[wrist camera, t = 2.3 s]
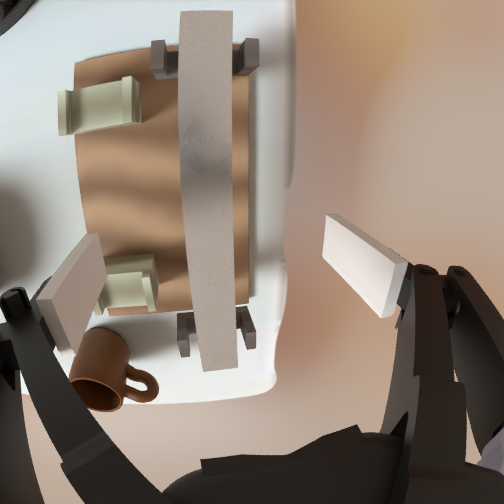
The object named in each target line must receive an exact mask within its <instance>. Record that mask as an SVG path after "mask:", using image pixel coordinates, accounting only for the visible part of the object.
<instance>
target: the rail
mask: <svg viewBox="0 0 504 504" xmlns="http://www.w3.org/2000/svg"><path fill="white" fill-rule="evenodd" d="M232 27H233V11H181V14H180V31H179V56H178V132H179V160H180V179H181V195H182V209H183V221H184V233H185V243H186V253H187V262H188V271H189V280H190V288H191V296H192V303H193V311H194V318H195V325H196V331H197V338H198V344H199V350H200V356H201V362H202V368H203V372H206V371H214V370H223V369H230V368H237V367H238V358H237V334H236V308H235V278H234V241H233V191H232Z"/></svg>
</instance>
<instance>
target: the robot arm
mask: <svg viewBox="0 0 504 504" xmlns="http://www.w3.org/2000/svg"><path fill="white" fill-rule="evenodd" d="M33 2H34V0H0V35H2V34H3V33H4V32H6V31H7V30H8V29H9V28H10V27H11V26H12V25H13V24H14V23H15V22H16V21H17V20H18V19H19V18H20V17H21V16H22V15H23V14H24V13H25V12H26V11H27V9H28V8H29V7H30V6H31V4H32V3H33ZM322 257H323V258H324V259H325V260H326V261H327V262H328V263H329V264H330V265H331V266H332V267H333V268H334V269H335V270H336V271H337V272H338V273H339V274H340V275H341V277H343V279H344V280H345V281H346V282H347V283H348V284H349V285H350V286H351V287H352V288H353V289H354V290H355V291H356V292H357V293H358V294H359V295H360V296H361V297H362V298H363V300H364V301H366V303H367V304H368V305H369V306H370V307H371V308H372V309H373V310H374V311H375V312H376V314H377V315H378V316H379V317H380V318H384V317H387V316H391V315H393V314H394V311H395V308H396V304H398V305H399V306H400V307H401V311H400V314H399V318H398V320H397V323H396V326H395V328H396V329H397V327H398V334H397V343H396V352H395V359H394V367H393V373H392V380H391V385H390V390H389V396H388V401H387V406H386V410H385V415H384V420H383V424H382V428H381V430H380V433H374V432H369V433H361V431H360V429H359V427H358V425H354V426H351V427H348V428H345V429H342V430H340V431H336V432H333V433H331V434H327V435H324V436H322V437H320V438H318V439H317V440H315V441H313V442H312V443H309V444H308V445H306V446H304V447H302V448H300V449H298V450H296V451H294V452H292V453H290V454H288V455H243V454H242V455H236V456H227V457H219V458H211V459H200V461H201V467H202V469H199V470H196V471H193V472H191V473H189V474H186V475H184V476H182V477H181V478H179V479H177V480H176V481H175V482H173V483H172V484H170V485H169V487H167V488H166V489H165V490H164V491H163V492H162V493H161V492H160V491H159V490H158V489H157V488H156V487H155V486H154V485H153V484H151V483H150V482H149V481H148V480H147V479H146V478H145V477H144V476H143V475H142V474H141V473H140V471H139V470H137V468H136V467H135V466H134V465H133V464H132V463H131V462H130V461H129V460H128V459H127V458H126V456H125V455H124V454H123V453H122V452H121V451H120V450H119V448H118V447H117V446H116V445H115V444H114V442H112V440H111V439H110V438H109V436H108V435H107V434H106V433H105V431H104V430H103V429H102V428H101V426H100V425H99V424H98V422H97V421H96V420H95V418H94V417H93V416H92V414H91V413H90V411H89V410H88V408H87V407H86V405H85V404H84V403H83V401H82V400H81V398H80V397H79V395H78V394H77V392H76V390H75V389H74V387H73V386H72V384H71V382H70V381H69V379H68V378H67V376H66V374H65V373H64V371H63V369H62V367H61V366H60V364H59V362H58V360H57V358H56V357H55V355H54V353H53V350H54V348H55V346H56V347H57V349H58V351H59V352H60V354H61V356H76V355H77V352H78V349H79V346H80V344H81V341H82V338H83V335H84V333H85V330H86V327H87V325H88V322H89V320H90V317H91V315H92V312H93V310H94V307H95V305H96V302H97V300H98V298H99V295H100V293H101V291H102V289H103V286H104V284H105V282H106V280H107V277H108V276H107V272H106V268H105V263H104V259H103V254H102V250H101V245H100V240H99V235H98V233H91V234H86V235H85V236H84V237H83V238H82V239H81V241H80V242H79V243H78V244H77V245H76V247H75V248H74V249H73V250H72V252H71V253H70V254H69V255H68V257H67V258H66V259H65V260H64V262H63V263H62V264H61V265H60V267H59V268H58V269H57V271H56V272H55V273H54V275H53V276H51V277H49V278H48V279H47V280H45V281H44V282H43V284H42V285H41V286H40V289H38V290H37V292H36V294H35V295H34V296H33V297H32V299H31V300H30V301H29V299H28V296H27V293H26V291H25V289H24V288H23V287H15V288H12V289H9V290H8V291H6V292H5V293H3V294H2V295H1V296H0V308H1V310H2V312H3V314H4V317H5V319H6V321H7V322H5V323H1V324H0V504H45V503H44V500H43V497H42V494H41V491H40V488H39V485H38V482H37V478H36V474H35V471H34V467H33V463H32V458H31V454H30V449H29V445H28V439H27V434H26V428H25V422H24V414H23V406H22V395H21V382H20V370H21V373H22V376H23V378H24V381H25V384H26V386H27V389H28V392H29V394H30V396H31V399H32V401H33V404H34V406H35V408H36V410H37V413H38V415H39V417H40V419H41V421H42V423H43V425H44V427H45V429H46V431H47V433H48V435H49V437H50V439H51V441H52V443H53V444H54V446H55V448H56V450H57V452H58V453H59V455H60V457H61V459H62V460H63V463H61V468H62V470H63V472H64V474H65V476H66V477H67V478H68V480H69V482H70V483H71V485H72V486H73V488H74V489H75V491H76V492H77V493H78V495H79V496H80V498H81V499H82V500H83V502H84V503H85V504H504V319H503V318H502V316H501V315H500V313H499V312H498V310H497V309H496V307H495V306H494V304H493V303H492V302H491V300H490V299H489V297H488V296H487V295H486V293H485V292H484V291H483V289H482V288H481V287H480V285H479V284H478V283H477V281H476V280H475V279H474V277H473V276H472V275H471V274H470V273H469V272H468V271H467V270H466V269H464V268H463V267H460V266H450V267H449V268H448V271H447V275H439V273H438V272H437V270H436V269H434V268H432V267H430V266H428V265H422V264H417V265H415V266H414V265H412V264H411V263H410V262H408V261H407V260H405V259H404V258H403V257H401V256H400V255H398V254H397V253H395V252H394V251H393V250H391V249H390V248H388V247H386V246H385V245H383V244H382V243H380V242H379V241H377V240H376V239H375V238H373V237H372V236H370V235H369V234H367V233H366V232H364V231H363V230H361V229H359V228H358V227H356V226H355V225H354V224H352V223H350V222H349V221H347V220H345V219H344V218H343V217H341V216H339V215H338V214H331V215H326V224H325V234H324V244H323V254H322ZM458 310H459V311H458ZM454 370H455V373H456V376H457V378H458V382H455V381H454ZM466 409H467V412H468V417H469V421H470V424H471V429H472V432H473V436H474V439H475V443H476V445H477V448H478V451H479V453H480V455H481V457H482V459H481V460H480V461H479V462H478V463H477V465H475V464H471V463H468V462H465V456H466V434H467V433H466V432H467V415H466Z"/></svg>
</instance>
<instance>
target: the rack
mask: <svg viewBox="0 0 504 504" xmlns="http://www.w3.org/2000/svg"><path fill="white" fill-rule="evenodd" d="M178 56H179V46H168V47H166V44H165V40H156V41H152V42H151V48H149V49H141V50H134V51H128V52H122V53H117V54H111V55H107V56H102V57H97V58H93V59H89V60H85V61H81V62H77V63H75V69H74V91H68V90H64V91H60V92H58V129H59V136H64V135H72V134H75V149H76V161H77V170H78V179H79V187H80V194H81V200H82V207H83V213H84V218H85V223H86V229H87V234H91V233H98V235H99V240H100V245H101V250H102V254H103V259H104V263H105V268H106V272H107V276H108V277H107V280H106V282H105V284H104V286H103V289H102V291H101V293H100V295H99V298H98V300H97V302H96V305H95V307H94V312H95V315H102V314H103V312H104V309H105V308H107V310H108V313H109V316H117V315H133V314H147V313H159V312H171V311H182V310H193V303H192V296H191V288H190V280H189V271H188V262H187V253H186V243H185V233H184V221H183V209H182V195H181V179H180V160H179V132H178ZM257 67H259V39H254V38H246V39H245V41H244V42H243V43H242V45H233V44H232V191H233V241H234V278H235V305H239V304H247V303H249V74H250V73H251V72H252V71H254V70H255V69H256V68H257ZM235 308H236V329H239V328H241V332H242V335H243V338H244V342H245V345H246V348H247V350H248V349H255V348H256V330H255V327H254V324H253V322H252V319H251V316H250V313H249V311H248V308H247V306H243V307H235ZM196 333H197V331H196V325H195V318H194V312H188V313H177V341H178V346H179V350H180V354H181V357H190V347H189V334H196Z"/></svg>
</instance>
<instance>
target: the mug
mask: <svg viewBox="0 0 504 504" xmlns="http://www.w3.org/2000/svg"><path fill="white" fill-rule="evenodd" d="M128 362H129V348H128V346H127V344H126V342H125V341H124V340H123V338H122V337H120V336H119V335H118V334H116V333H115V332H113V331H110V330H108V329H103V328H94V329H91V330H88V331H87V332H86V333H84V335H83V338H82V341H81V344H80V346H79V349H78V352H77V355H76V356H75V357H74V360H73V363H72V367H71V370H70V373H69V381H70V382H71V384H72V386H73V387H74V389H75V390H76V392H77V394H78V395H79V397H80V398H81V400H82V401H83V403H84V404H85V405H86V407H87V408H89V409H91V410H95V411H99V412H112V411H116V410H118V409H119V408H120V407H121V406H122V404H123V399H124V397H127V398H129V399H132V400H134V401H136V402H140V403H145V402H150V401H152V400H154V399H155V398H156V397H157V395H158V393H159V386H158V383H157V381H156V379H155V378H154V377H153V376H152V375H151V374H149V373H148V372H146V371H143V370H138V369H135V368H134V367H132V366H131V365H129V364H128ZM127 378H129V379H130V380H133V381H136V382H142V383H144V384H145V385H146V386H147V390H146V391H140V390H137V389H135V388H133V387H130V386H128V385H126V379H127Z"/></svg>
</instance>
